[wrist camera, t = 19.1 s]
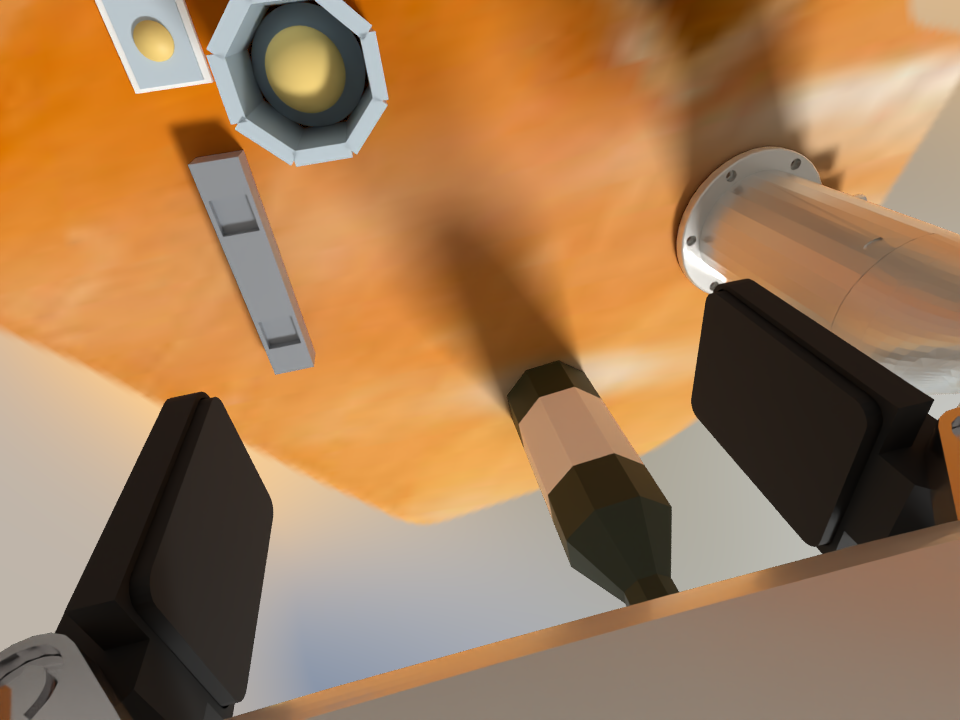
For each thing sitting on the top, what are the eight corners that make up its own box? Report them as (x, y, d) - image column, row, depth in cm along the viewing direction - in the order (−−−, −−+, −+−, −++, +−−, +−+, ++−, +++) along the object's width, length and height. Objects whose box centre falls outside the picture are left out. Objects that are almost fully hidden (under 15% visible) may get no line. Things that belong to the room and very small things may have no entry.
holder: (243, 149, 34) (237, 156, 32) (315, 353, 43) (314, 366, 41) (195, 157, 34) (187, 164, 32) (278, 360, 43) (275, 374, 41)
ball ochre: (336, 19, 31) (331, 20, 27) (355, 101, 33) (352, 112, 30) (261, 30, 30) (245, 32, 27) (285, 112, 33) (274, 124, 29)
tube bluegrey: (360, -24, 30) (363, -32, 25) (390, 127, 35) (398, 149, 29) (215, -5, 30) (183, -9, 24) (265, 147, 34) (248, 174, 28)
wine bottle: (563, 344, 48) (788, 694, 23) (602, 397, 52) (825, 737, 28) (489, 395, 49) (627, 775, 25) (534, 442, 54) (687, 803, 29)
